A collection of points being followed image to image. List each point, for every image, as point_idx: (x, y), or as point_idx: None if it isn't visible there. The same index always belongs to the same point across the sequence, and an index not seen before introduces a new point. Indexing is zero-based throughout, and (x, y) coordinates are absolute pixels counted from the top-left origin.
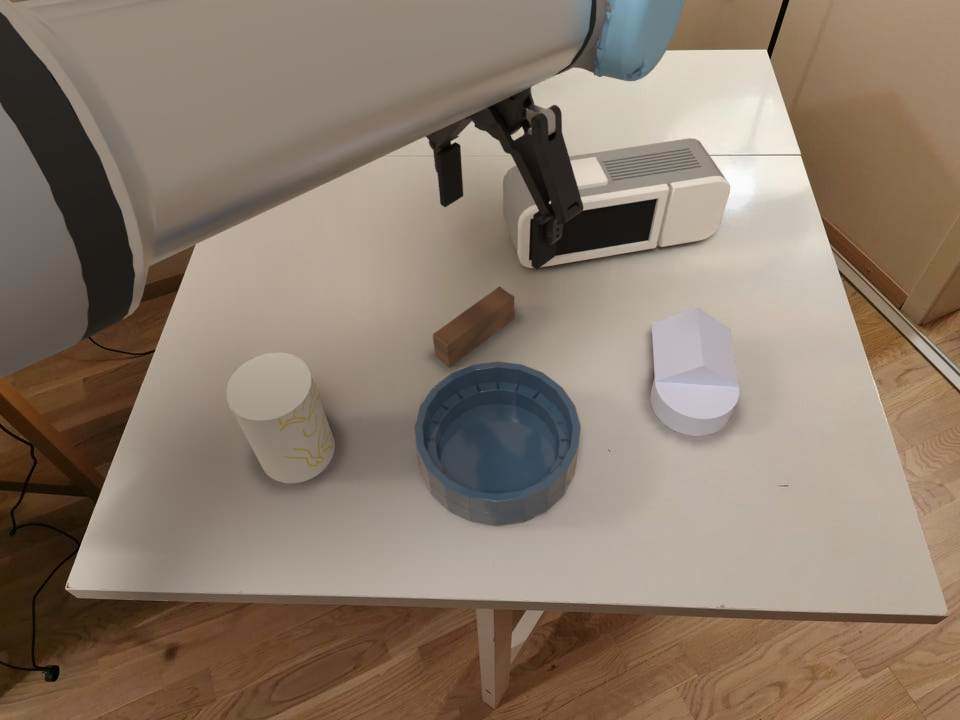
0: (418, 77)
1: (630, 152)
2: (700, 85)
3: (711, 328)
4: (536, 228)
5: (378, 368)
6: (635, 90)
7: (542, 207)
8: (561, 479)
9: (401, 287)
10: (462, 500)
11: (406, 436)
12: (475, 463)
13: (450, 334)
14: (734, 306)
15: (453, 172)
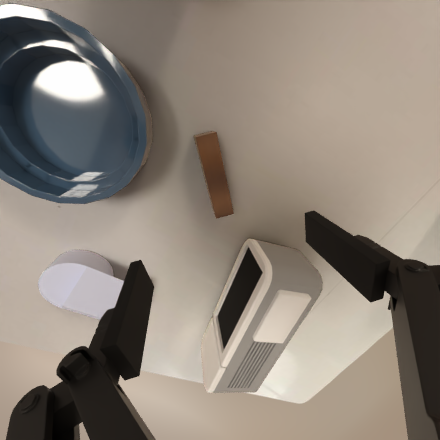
0: None
1: (271, 360)
2: (309, 378)
3: None
4: (114, 321)
5: (226, 72)
6: (332, 354)
7: (86, 384)
8: None
9: (295, 143)
10: None
11: (137, 52)
12: (73, 96)
13: (207, 147)
14: (149, 326)
15: (336, 256)
